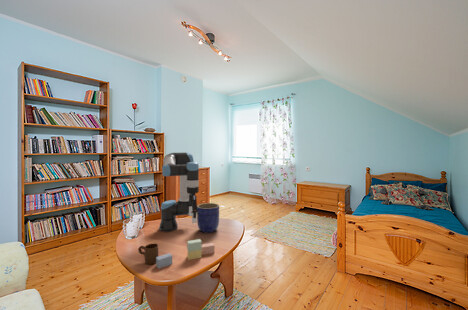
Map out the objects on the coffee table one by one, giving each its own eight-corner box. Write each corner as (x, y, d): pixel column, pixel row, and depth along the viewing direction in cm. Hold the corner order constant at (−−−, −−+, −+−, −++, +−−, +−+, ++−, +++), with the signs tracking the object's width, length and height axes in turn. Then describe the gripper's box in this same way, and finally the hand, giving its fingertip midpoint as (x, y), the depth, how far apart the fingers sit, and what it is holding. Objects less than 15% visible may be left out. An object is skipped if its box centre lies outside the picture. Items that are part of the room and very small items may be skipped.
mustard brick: (188, 259, 127) (188, 251, 127) (187, 256, 131) (187, 248, 131) (201, 257, 130) (201, 249, 130) (200, 254, 134) (200, 247, 134)
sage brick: (188, 251, 127) (188, 243, 127) (187, 249, 131) (187, 241, 131) (201, 249, 130) (201, 241, 130) (199, 246, 134) (199, 238, 134)
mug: (134, 264, 122) (134, 248, 122) (142, 257, 130) (142, 242, 130) (154, 265, 121) (154, 249, 121) (160, 258, 128) (160, 243, 128)
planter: (192, 232, 171) (192, 207, 170) (204, 225, 188) (204, 202, 187) (212, 235, 163) (212, 209, 163) (223, 228, 180) (222, 204, 180)
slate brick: (158, 268, 118) (158, 259, 118) (156, 265, 121) (156, 257, 121) (172, 264, 123) (172, 255, 123) (169, 261, 126) (169, 253, 126)
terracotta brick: (202, 255, 133) (202, 247, 133) (201, 252, 137) (200, 244, 137) (214, 253, 136) (214, 245, 136) (212, 250, 140) (212, 242, 140)
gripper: (184, 183, 146) (184, 213, 146) (189, 190, 122) (189, 226, 123) (195, 183, 148) (195, 212, 149) (202, 189, 125) (202, 225, 126)
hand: (192, 219), depth 136 cm, fingers open, 13 cm apart
